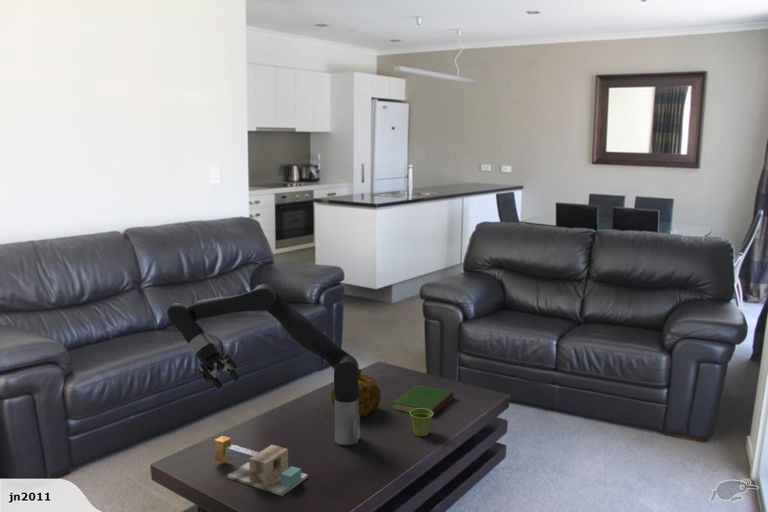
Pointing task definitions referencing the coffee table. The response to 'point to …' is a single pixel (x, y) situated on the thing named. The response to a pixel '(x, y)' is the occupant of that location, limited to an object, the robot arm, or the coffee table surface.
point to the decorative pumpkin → (365, 394)
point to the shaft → (231, 451)
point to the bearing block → (268, 464)
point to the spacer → (291, 476)
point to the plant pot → (421, 421)
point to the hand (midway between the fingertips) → (229, 383)
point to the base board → (275, 487)
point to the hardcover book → (423, 399)
